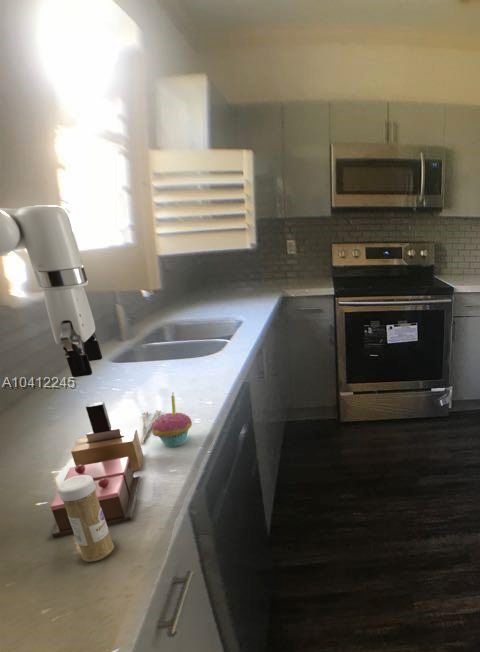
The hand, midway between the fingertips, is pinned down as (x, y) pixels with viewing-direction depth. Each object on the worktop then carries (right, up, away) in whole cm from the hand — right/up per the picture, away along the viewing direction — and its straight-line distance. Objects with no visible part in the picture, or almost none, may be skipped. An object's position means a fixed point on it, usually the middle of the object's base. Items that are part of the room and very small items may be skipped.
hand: (88, 367), depth 89 cm
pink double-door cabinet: (+5, -26, -4) cm, 27 cm away
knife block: (0, -21, +8) cm, 23 cm away
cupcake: (+9, -17, +18) cm, 26 cm away
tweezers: (-2, -15, +26) cm, 29 cm away
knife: (0, -20, +8) cm, 22 cm away
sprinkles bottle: (+12, -31, -16) cm, 36 cm away
